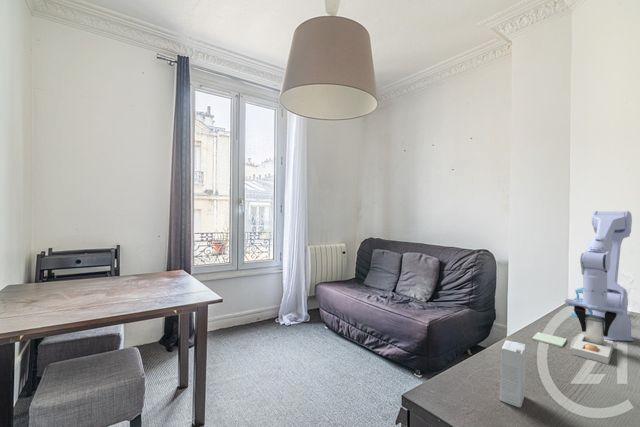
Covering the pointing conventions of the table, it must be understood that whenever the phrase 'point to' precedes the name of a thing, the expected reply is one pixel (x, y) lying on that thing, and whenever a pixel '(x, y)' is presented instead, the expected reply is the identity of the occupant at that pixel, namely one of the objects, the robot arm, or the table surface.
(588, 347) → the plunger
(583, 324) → the robot arm
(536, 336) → the mat
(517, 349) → the skincare box
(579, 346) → the housing
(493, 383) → the table surface
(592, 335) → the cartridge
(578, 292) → the chair
